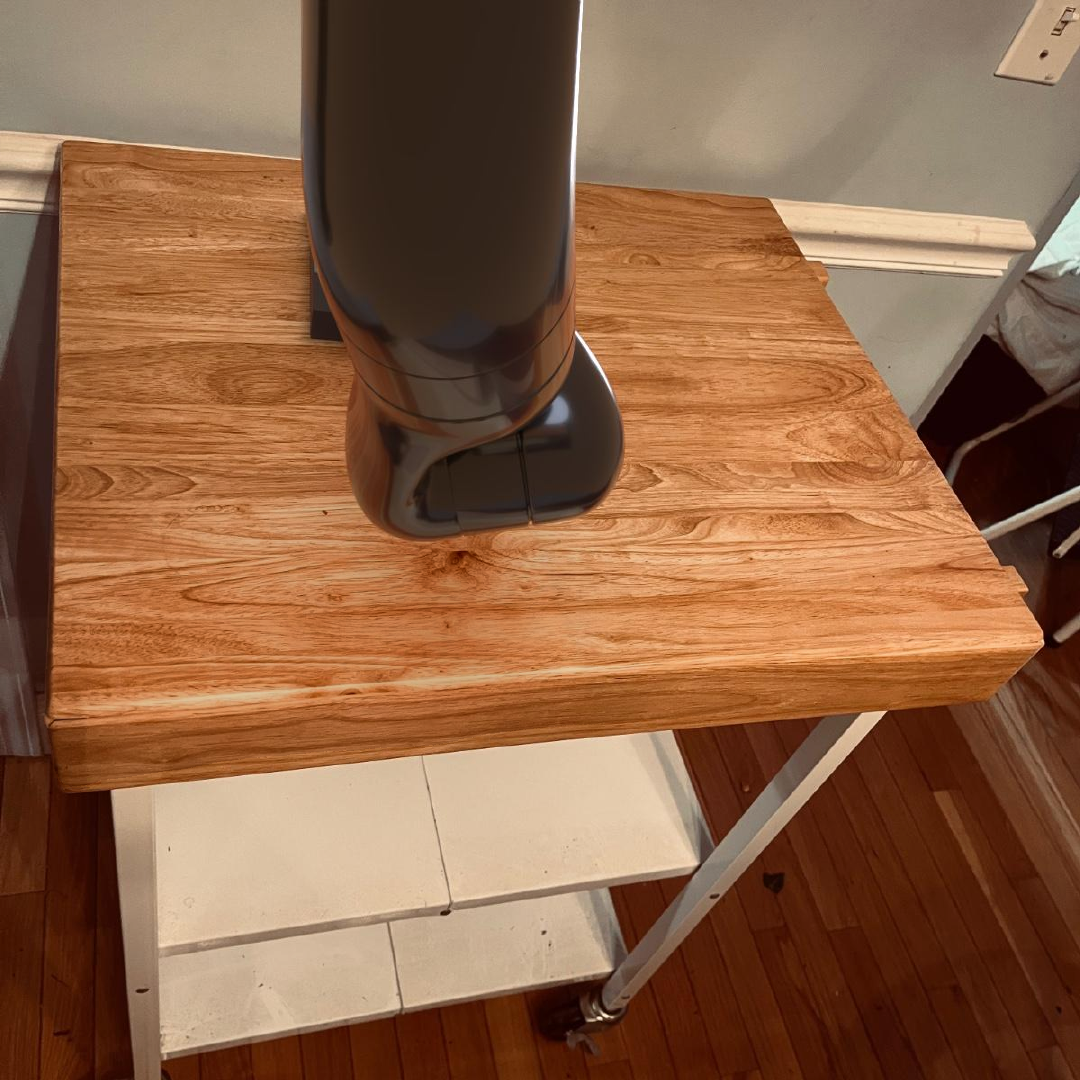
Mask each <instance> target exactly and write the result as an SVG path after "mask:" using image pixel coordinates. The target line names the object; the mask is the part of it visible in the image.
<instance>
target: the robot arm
mask: <svg viewBox="0 0 1080 1080" xmlns="http://www.w3.org/2000/svg"><path fill="white" fill-rule="evenodd" d="M583 10H584V0H300V133H299V134H300V135H299V136H300V170H301V184H302V195H303V203H304V211H305V219H306V227H307V234H308V239H309V246H310V245H311V251H312V256H313V259H314V263H315V266H316V270H317V273H318V277H319V279H320V282H321V285H322V288H323V290H324V293H325V296H326V299H327V302H328V304H329V307H330V309H331V312H332V314H333V316H334V319H335V321H336V324H337V326H338V329H339V331H340V334H341V336H342V339H343V341H342V342H343V344H344V346H345V348H346V351H347V353H348V356H349V358H350V361H351V364H352V366H353V370H354V375H353V379H352V383H351V387H350V391H349V397H348V403H347V409H346V415H345V416H346V418H345V434H344V452H345V460H346V461H345V463H346V469H347V470H346V471H347V476H348V479H349V483H350V488H351V489H352V493H353V495H354V498H355V501H356V502H357V505H358V506H359V508H360V510H361V511H362V512H363V514H364V516H366V518H367V519H368V521H370V522H371V524H372V525H374V526H375V527H376V528H378V529H379V530H380V531H382V532H384V533H385V534H387V535H389V536H392V537H393V538H396V539H400V540H404V541H407V542H413V543H415V542H416V543H429V542H430V543H431V542H432V543H433V542H440V541H445V540H453V539H459V538H462V537H464V538H465V537H471V536H478V535H484V534H490V533H497V532H503V531H510V530H511V531H512V530H516V529H517V530H518V529H523V528H524V529H525V528H529V527H530V525H532V526H534V527H537V526H544V525H549V524H556V523H562V522H566V521H567V522H568V521H572V520H576V519H578V518H581V517H585V516H587V515H588V514H591V513H592V512H594V511H595V510H597V509H598V508H599V507H600V506H601V505H602V504H604V502H606V500H607V499H608V498H609V496H610V495H611V493H612V492H613V490H614V489H615V487H616V484H617V482H618V480H619V478H620V475H621V473H622V469H623V467H624V460H625V452H626V434H625V427H624V421H623V420H624V419H623V415H622V411H621V408H620V405H619V402H618V399H617V395H616V393H615V391H614V389H613V386H612V384H611V382H610V379H609V378H608V376H607V373H606V372H605V370H604V368H603V367H602V365H601V363H600V362H599V360H598V358H597V357H596V355H595V354H594V352H593V350H592V349H591V347H590V346H589V345H588V344H587V342H586V341H585V340H584V338H583V337H582V335H581V334H580V332H578V330H577V329H576V321H577V320H576V319H577V318H576V312H577V311H576V310H577V306H576V305H577V302H576V301H577V295H576V294H577V288H576V287H577V251H576V249H577V248H576V247H577V245H576V244H577V243H576V175H577V174H576V171H577V170H576V167H577V130H578V109H579V107H578V106H579V81H580V63H581V62H580V61H581V45H582V30H583V29H582V28H583V27H582V26H583V12H584V11H583Z"/></svg>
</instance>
